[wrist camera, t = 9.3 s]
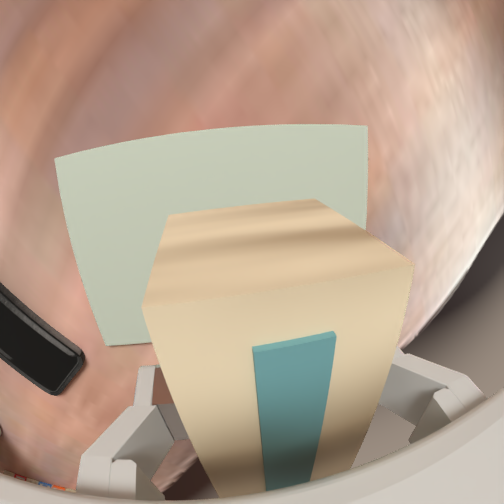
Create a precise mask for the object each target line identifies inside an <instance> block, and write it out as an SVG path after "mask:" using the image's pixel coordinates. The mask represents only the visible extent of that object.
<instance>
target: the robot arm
mask: <svg viewBox="0 0 504 504" xmlns="http://www.w3.org/2000/svg"><path fill="white" fill-rule="evenodd" d="M378 403H379V404H380V405H382V406H384V407H385V408H387V409H389V410H390V411H392V412H393V413H395V414H397V415H398V416H400V417H402V418H404V419H405V420H407V421H409V422H411V423H412V424H414V425H415V426H416V427H415V429H414V431H413V432H412V434H411V436H410V438H409V442H410V445H408V446H406V447H403V448H401V449H399V450H397V451H395V452H393V453H390V454H388V455H386V456H383V457H381V458H379V459H376V460H373V461H371V462H368V463H366V464H363V465H361V466H358V467H355V468H352V469H349V470H346V471H343V472H340V473H337V474H334V475H331V476H327V477H324V478H320V479H317V480H313V481H310V482H306V483H302V484H298V485H294V486H289V487H285V488H280V489H275V490H270V491H265V492H259V493H253V494H247V495H240V496H232V497H223V498H213V499H200V500H180V501H179V500H178V501H177V500H176V501H165V496H164V495H163V494H162V493H161V492H160V491H159V490H158V488H157V487H156V486H155V485H154V484H153V483H152V482H151V481H150V480H151V479H152V477H153V475H154V474H155V472H156V471H157V469H158V467H159V466H160V464H161V463H162V461H163V459H164V458H165V456H166V455H167V453H168V451H169V450H170V448H171V447H172V445H173V443H174V440H182V439H190V438H189V436H188V434H187V432H186V429H185V427H184V425H183V423H182V420H181V418H180V416H179V413H178V411H177V408H176V406H175V403H174V401H173V398H172V396H171V393H170V391H169V388H168V386H167V383H166V380H165V378H164V375H163V372H162V370H161V367H160V365H152V366H141V367H140V368H139V370H138V376H137V382H136V389H135V396H134V403H133V406H128V407H127V409H126V410H125V411H124V412H123V413H122V414H121V415H120V416H119V417H118V418H117V419H116V420H115V421H114V422H113V423H112V424H111V425H110V426H109V427H108V428H107V429H106V430H105V432H104V433H103V434H102V435H101V436H100V437H99V438H98V439H97V440H96V441H95V442H94V443H93V444H92V445H91V446H90V447H89V448H88V449H87V450H86V451H85V452H84V453H83V454H82V456H81V461H80V467H79V473H78V479H77V485H76V492H75V493H74V492H68V491H63V490H59V489H54V488H50V487H45V486H41V485H38V484H34V483H30V482H27V481H23V480H20V479H17V478H14V477H11V476H8V475H5V474H2V473H0V504H504V387H503V388H502V389H500V390H499V391H498V392H496V393H495V394H493V395H492V396H491V397H489V398H488V399H487V398H486V397H485V395H484V394H483V393H482V392H481V391H480V390H479V388H478V387H477V386H476V385H475V384H474V383H473V382H472V381H471V380H470V378H469V377H468V376H467V375H465V374H462V373H459V372H456V371H454V370H451V369H448V368H446V367H443V366H440V365H438V364H435V363H432V362H430V361H427V360H424V359H422V358H419V357H416V356H414V355H411V354H409V353H408V354H404V353H403V352H402V351H401V350H400V348H399V347H398V346H397V347H396V350H395V354H394V357H393V361H392V364H391V367H390V370H389V373H388V376H387V380H386V383H385V385H384V388H383V391H382V394H381V397H380V400H379V402H378ZM0 436H1V429H0Z"/></svg>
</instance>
